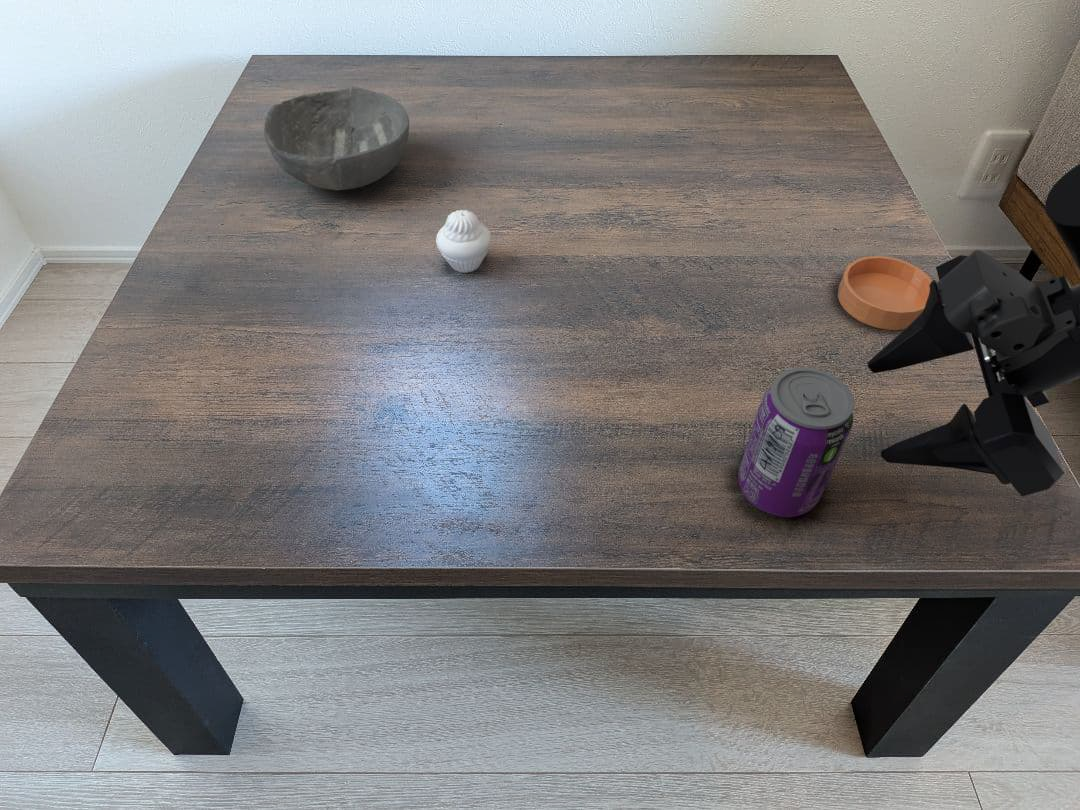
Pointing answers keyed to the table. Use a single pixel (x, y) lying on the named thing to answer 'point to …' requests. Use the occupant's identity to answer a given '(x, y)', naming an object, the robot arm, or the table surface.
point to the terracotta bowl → (884, 292)
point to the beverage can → (796, 441)
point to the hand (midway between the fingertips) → (876, 410)
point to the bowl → (337, 137)
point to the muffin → (463, 241)
